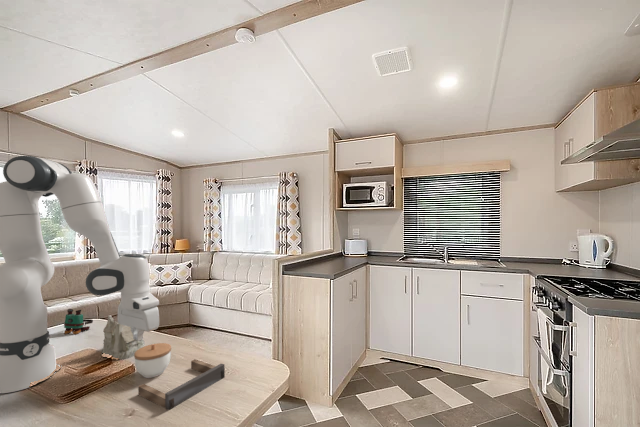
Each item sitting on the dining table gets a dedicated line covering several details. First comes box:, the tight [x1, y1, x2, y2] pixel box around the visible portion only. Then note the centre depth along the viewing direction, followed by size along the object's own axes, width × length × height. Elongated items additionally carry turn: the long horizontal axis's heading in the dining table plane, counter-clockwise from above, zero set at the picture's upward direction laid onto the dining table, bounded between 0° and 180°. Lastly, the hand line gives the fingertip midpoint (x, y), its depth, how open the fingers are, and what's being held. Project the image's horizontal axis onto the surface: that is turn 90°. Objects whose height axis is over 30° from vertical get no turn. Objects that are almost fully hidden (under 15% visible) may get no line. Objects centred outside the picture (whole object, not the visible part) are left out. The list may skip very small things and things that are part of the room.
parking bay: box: [137, 358, 226, 411], centre depth 92 cm, size 14×19×4 cm
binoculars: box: [63, 308, 94, 335], centre depth 141 cm, size 9×11×10 cm
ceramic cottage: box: [101, 314, 146, 361], centre depth 119 cm, size 16×16×15 cm
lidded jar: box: [133, 342, 172, 379], centre depth 100 cm, size 11×11×9 cm
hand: (138, 339), depth 106 cm, fingers closed
